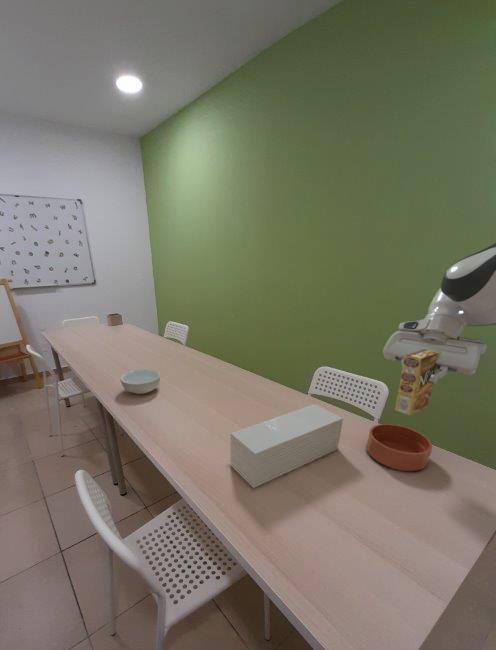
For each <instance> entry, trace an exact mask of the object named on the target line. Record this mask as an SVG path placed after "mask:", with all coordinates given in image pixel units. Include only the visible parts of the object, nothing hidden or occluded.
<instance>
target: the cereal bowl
mask: <svg viewBox="0 0 496 650" xmlns="http://www.w3.org/2000/svg"><path fill="white" fill-rule="evenodd" d="M120 383H121V386H122V387H123V389H124V390H125V391H126V392H130V393H132V394H136V395H144V394H148V393H150V392H152V391H154V390H155V389H157V388H158V386H159V385H160V383H161V374H160V372H158V371H157V370H153V369H145V368H143V369H136V370H135V369H133V370H130V371H128V372H126V373H124V374H122V375H121V376H120Z"/></svg>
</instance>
